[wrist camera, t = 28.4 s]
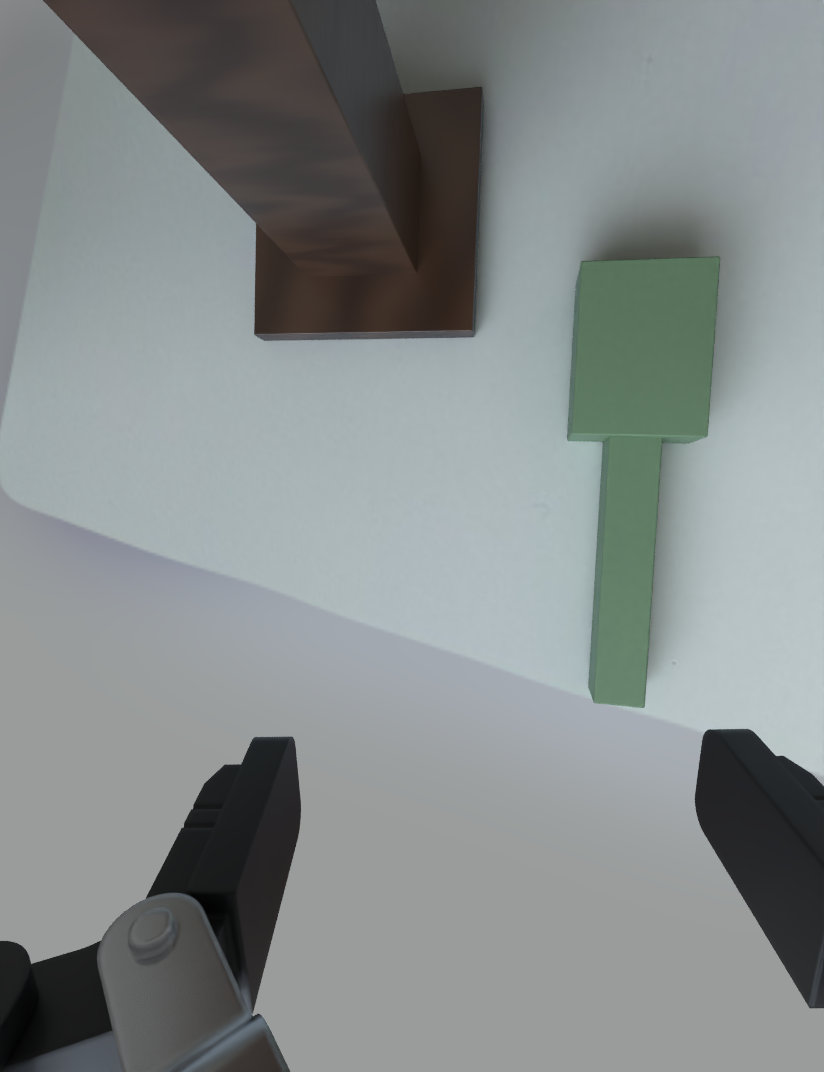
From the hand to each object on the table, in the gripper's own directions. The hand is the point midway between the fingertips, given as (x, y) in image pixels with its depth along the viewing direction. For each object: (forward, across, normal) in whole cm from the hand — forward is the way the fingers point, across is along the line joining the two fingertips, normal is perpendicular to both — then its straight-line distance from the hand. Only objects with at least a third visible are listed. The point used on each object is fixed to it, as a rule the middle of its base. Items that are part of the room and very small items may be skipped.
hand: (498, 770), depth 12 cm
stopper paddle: (+20, +9, +1) cm, 22 cm away
